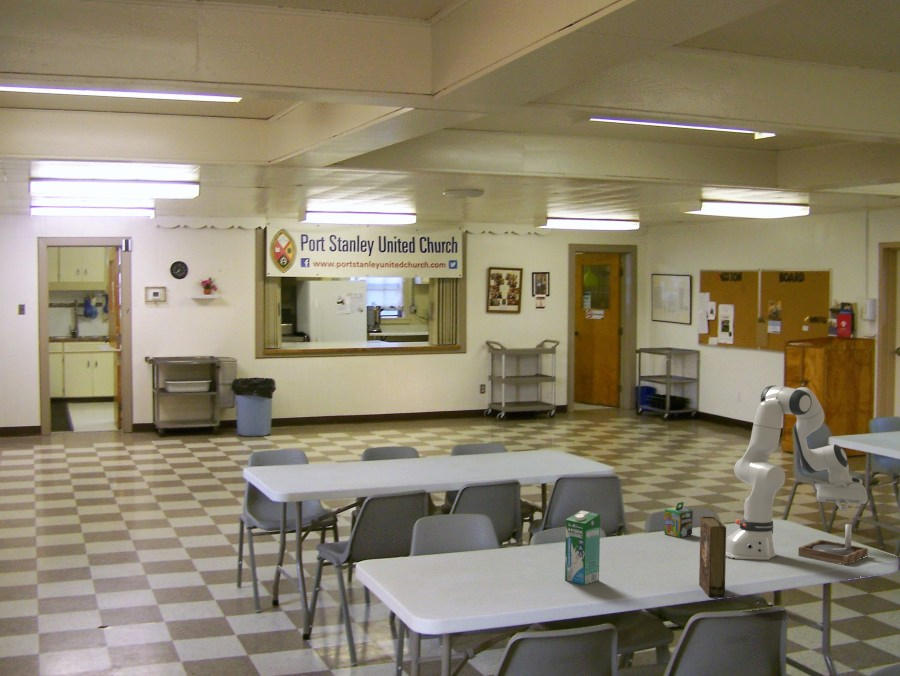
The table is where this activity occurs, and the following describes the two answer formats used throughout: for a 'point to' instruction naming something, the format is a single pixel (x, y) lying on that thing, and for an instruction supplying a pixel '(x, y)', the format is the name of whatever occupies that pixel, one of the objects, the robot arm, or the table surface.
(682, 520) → the chalk box
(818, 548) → the dial
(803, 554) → the dial housing
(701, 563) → the book
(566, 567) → the milk carton
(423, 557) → the table surface
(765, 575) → the table surface
